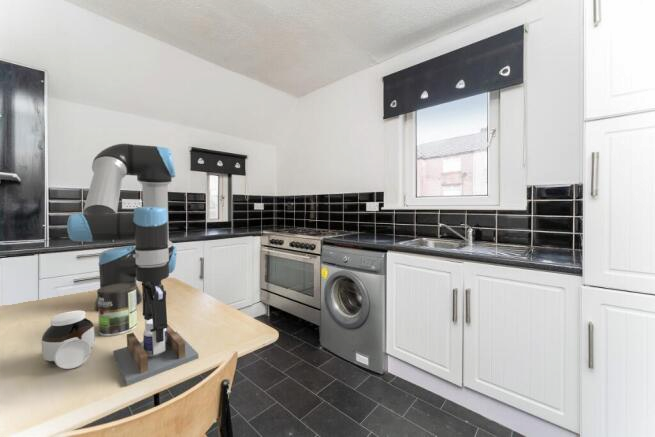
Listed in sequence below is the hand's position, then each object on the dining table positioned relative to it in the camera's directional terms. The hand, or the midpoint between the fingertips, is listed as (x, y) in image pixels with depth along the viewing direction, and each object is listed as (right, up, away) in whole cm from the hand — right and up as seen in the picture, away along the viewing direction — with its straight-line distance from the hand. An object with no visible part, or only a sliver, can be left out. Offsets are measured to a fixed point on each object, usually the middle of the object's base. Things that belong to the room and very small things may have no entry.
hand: (155, 347), depth 75 cm
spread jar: (-21, -3, -2) cm, 21 cm away
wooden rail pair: (0, -2, 0) cm, 1 cm away
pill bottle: (0, -2, 0) cm, 2 cm away
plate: (0, -3, 0) cm, 3 cm away
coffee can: (-22, -2, +16) cm, 27 cm away
